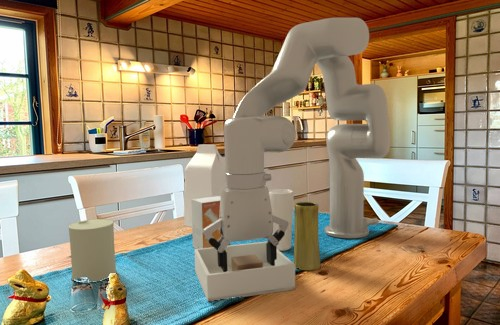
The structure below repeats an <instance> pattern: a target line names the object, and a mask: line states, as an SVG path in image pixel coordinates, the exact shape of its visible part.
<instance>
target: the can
mask: <svg viewBox="0 0 500 325" xmlns="http://www.w3.org/2000/svg"><path fill="white" fill-rule="evenodd" d="M114 232H115V231H114V220H111V219H106V218H95V219H94V218H93V219H85V220H80V221H75V222H73V223H70V224H69V225H68V234H69V244H70V245H69V246H70V257H71V258H70V261H71V281H72V280H74V279H76V278H80V277H88V278H89V281H91V282H93V281H100V280H102V279H104V278H107V277H108V276H109V274H110V273H116V274H117V269H116V268H117V266H116V250H115V237H114V236H115V234H114Z"/></svg>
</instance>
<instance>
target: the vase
mask: <svg viewBox="0 0 500 325" xmlns="http://www.w3.org/2000/svg"><path fill="white" fill-rule="evenodd" d="M293 247H294V248H293V263H294V264H295V267H296V268H295V269H297V268H299V269H298V270H300V271H315V270H318V269H319V268H320V267H321V256H320V255H321V254H320V242H319V203H317V202H314V201H298V202H296V203H294V244H293Z"/></svg>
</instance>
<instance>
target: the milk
mask: <svg viewBox="0 0 500 325" xmlns="http://www.w3.org/2000/svg"><path fill="white" fill-rule="evenodd" d="M223 188H226V171H225V158H224V157H222V155H221V154H220V152H219V150H218V148H217V145H216V144H198V145H197V149H196V152H195V153H194V155H193V156H192V158H191V159H190V160H189V162H188V163H187V165H186V166H185V169H184V190H183V191H184V192H183V193H184V196H183V198H184V199H183V204H184V205H183V226H184V227H189V228H192V201H191V200H192V199H200V198H206V197H215V196H220V197H221V192H222V189H223Z"/></svg>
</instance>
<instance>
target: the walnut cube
mask: <svg viewBox="0 0 500 325" xmlns="http://www.w3.org/2000/svg"><path fill="white" fill-rule="evenodd" d="M231 262H232V271H238V270H246V269H254V268H262V267H263V262H262V261H261V260H260V259H259V258H258V257H257V256H256V255H247V256H238V257H231Z"/></svg>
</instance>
